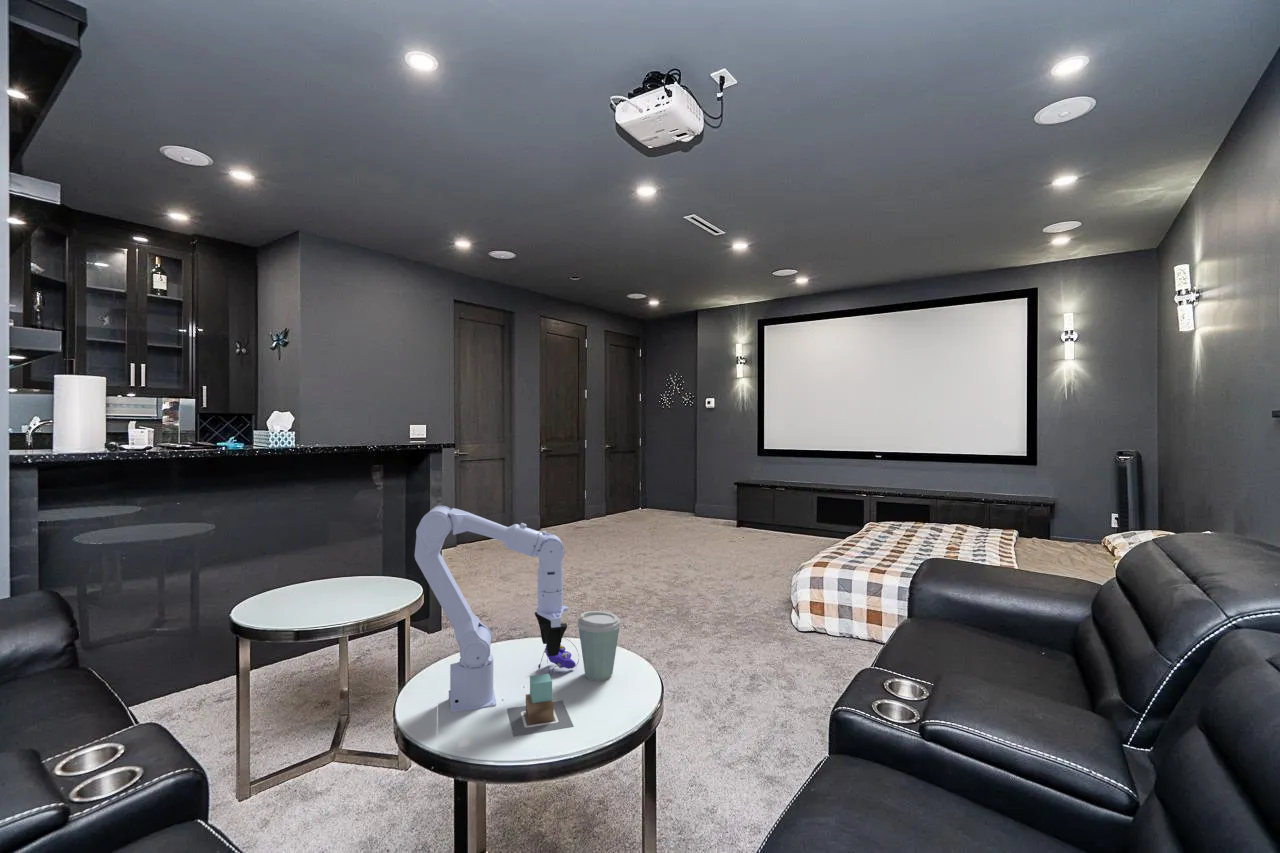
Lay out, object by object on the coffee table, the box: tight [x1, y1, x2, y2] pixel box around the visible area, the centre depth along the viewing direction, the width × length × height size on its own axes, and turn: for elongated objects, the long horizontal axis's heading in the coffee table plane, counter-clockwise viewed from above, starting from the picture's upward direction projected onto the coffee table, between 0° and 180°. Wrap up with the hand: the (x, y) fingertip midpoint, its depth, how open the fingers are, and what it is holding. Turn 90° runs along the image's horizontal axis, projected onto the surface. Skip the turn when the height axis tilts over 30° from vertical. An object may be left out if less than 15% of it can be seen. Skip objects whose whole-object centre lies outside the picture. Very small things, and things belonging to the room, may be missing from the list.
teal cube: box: [529, 673, 553, 703], centre depth 122 cm, size 4×4×4 cm
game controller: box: [537, 636, 580, 676], centre depth 148 cm, size 10×8×10 cm
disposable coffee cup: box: [577, 610, 621, 681], centre depth 143 cm, size 11×11×15 cm
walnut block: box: [525, 693, 555, 725], centre depth 122 cm, size 5×5×4 cm
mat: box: [506, 699, 574, 737], centre depth 122 cm, size 12×12×1 cm
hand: (550, 649), depth 133 cm, fingers open, 7 cm apart
